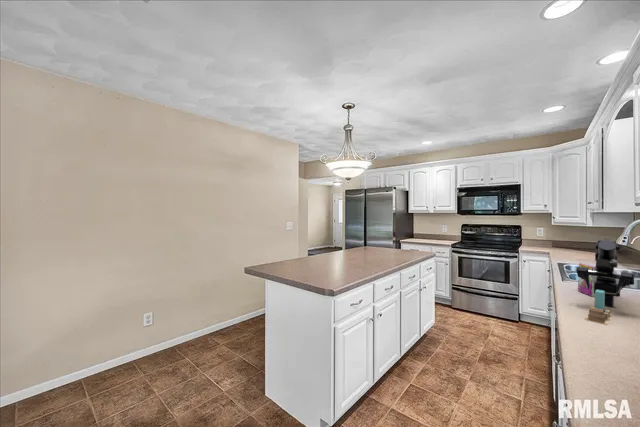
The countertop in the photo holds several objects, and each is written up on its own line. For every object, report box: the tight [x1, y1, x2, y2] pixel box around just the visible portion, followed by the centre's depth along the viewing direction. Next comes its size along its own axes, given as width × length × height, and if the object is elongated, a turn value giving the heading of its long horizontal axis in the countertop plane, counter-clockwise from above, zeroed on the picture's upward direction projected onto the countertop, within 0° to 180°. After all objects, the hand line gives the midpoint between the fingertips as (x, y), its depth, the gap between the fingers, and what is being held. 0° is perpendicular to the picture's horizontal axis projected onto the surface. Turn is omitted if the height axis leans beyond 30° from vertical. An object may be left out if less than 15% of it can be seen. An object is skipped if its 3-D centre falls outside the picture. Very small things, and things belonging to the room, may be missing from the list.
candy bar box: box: [577, 262, 597, 298], centre depth 162 cm, size 11×5×16 cm, turn 168°
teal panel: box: [594, 290, 606, 312], centre depth 126 cm, size 5×2×11 cm, turn 129°
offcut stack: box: [587, 306, 606, 324], centre depth 121 cm, size 5×5×4 cm
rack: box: [584, 306, 613, 326], centre depth 124 cm, size 18×7×4 cm, turn 129°
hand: (602, 290), depth 129 cm, fingers open, 9 cm apart
